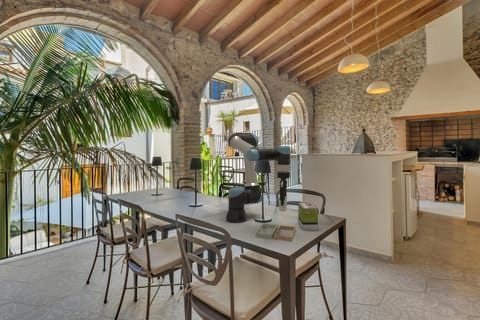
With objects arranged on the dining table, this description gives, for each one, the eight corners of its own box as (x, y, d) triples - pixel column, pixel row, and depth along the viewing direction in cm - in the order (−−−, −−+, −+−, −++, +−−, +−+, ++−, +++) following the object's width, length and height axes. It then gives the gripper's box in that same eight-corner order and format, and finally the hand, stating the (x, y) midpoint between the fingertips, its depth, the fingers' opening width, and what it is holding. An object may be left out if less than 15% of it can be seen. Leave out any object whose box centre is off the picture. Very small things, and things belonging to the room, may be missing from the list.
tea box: (297, 222, 171) (297, 202, 170) (312, 222, 171) (312, 202, 170) (302, 230, 156) (302, 207, 156) (318, 230, 156) (318, 207, 155)
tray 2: (274, 239, 142) (274, 234, 142) (279, 228, 159) (279, 225, 159) (291, 241, 139) (291, 236, 139) (295, 230, 156) (295, 226, 155)
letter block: (279, 210, 147) (279, 197, 147) (280, 209, 151) (280, 195, 151) (285, 211, 146) (285, 197, 146) (286, 209, 150) (286, 196, 149)
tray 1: (255, 236, 146) (255, 232, 146) (262, 226, 163) (262, 223, 163) (271, 238, 143) (271, 234, 142) (277, 228, 160) (277, 224, 159)
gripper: (287, 173, 138) (287, 214, 139) (291, 170, 154) (291, 206, 156) (274, 172, 140) (274, 212, 142) (279, 169, 156) (279, 205, 158)
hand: (283, 209), depth 149 cm, fingers closed on letter block, 4 cm apart
